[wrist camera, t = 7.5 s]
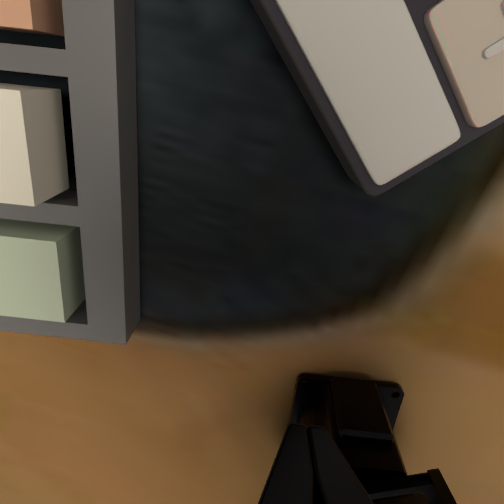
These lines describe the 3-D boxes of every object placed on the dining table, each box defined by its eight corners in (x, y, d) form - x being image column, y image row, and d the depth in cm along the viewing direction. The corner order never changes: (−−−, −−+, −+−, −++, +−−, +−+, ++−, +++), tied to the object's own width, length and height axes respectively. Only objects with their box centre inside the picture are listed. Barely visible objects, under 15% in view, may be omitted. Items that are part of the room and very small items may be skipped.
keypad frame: (140, 319, 24) (126, 344, 21) (-27, 300, 24) (-59, 324, 21) (132, -127, 15) (107, -163, 13) (-122, -153, 16) (-190, -194, 13)
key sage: (89, 293, 23) (64, 322, 20) (14, 284, 23) (-22, 313, 20) (84, 220, 21) (56, 241, 18) (2, 211, 21) (-39, 231, 18)
